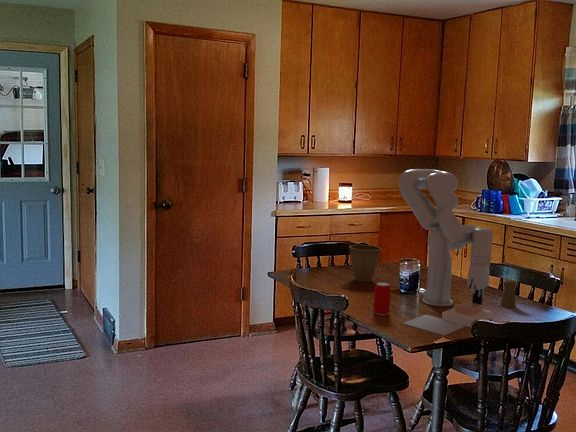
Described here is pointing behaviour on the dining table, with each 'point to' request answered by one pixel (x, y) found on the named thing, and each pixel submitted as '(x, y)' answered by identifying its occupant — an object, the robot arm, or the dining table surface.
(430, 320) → the mat
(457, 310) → the terracotta tile
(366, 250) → the plant pot
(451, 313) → the grey flat block
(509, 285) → the cork
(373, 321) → the dining table surface
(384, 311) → the beverage can
